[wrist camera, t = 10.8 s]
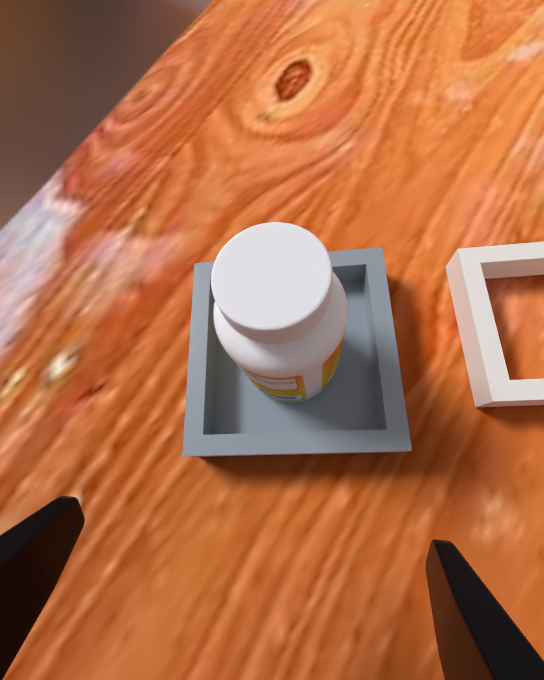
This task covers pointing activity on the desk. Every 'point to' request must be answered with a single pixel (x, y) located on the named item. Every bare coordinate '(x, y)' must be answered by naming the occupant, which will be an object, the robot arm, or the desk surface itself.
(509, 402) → the holder collar
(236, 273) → the supplement bottle
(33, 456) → the desk surface
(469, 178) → the desk surface
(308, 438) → the tray
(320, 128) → the desk surface
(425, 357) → the desk surface
